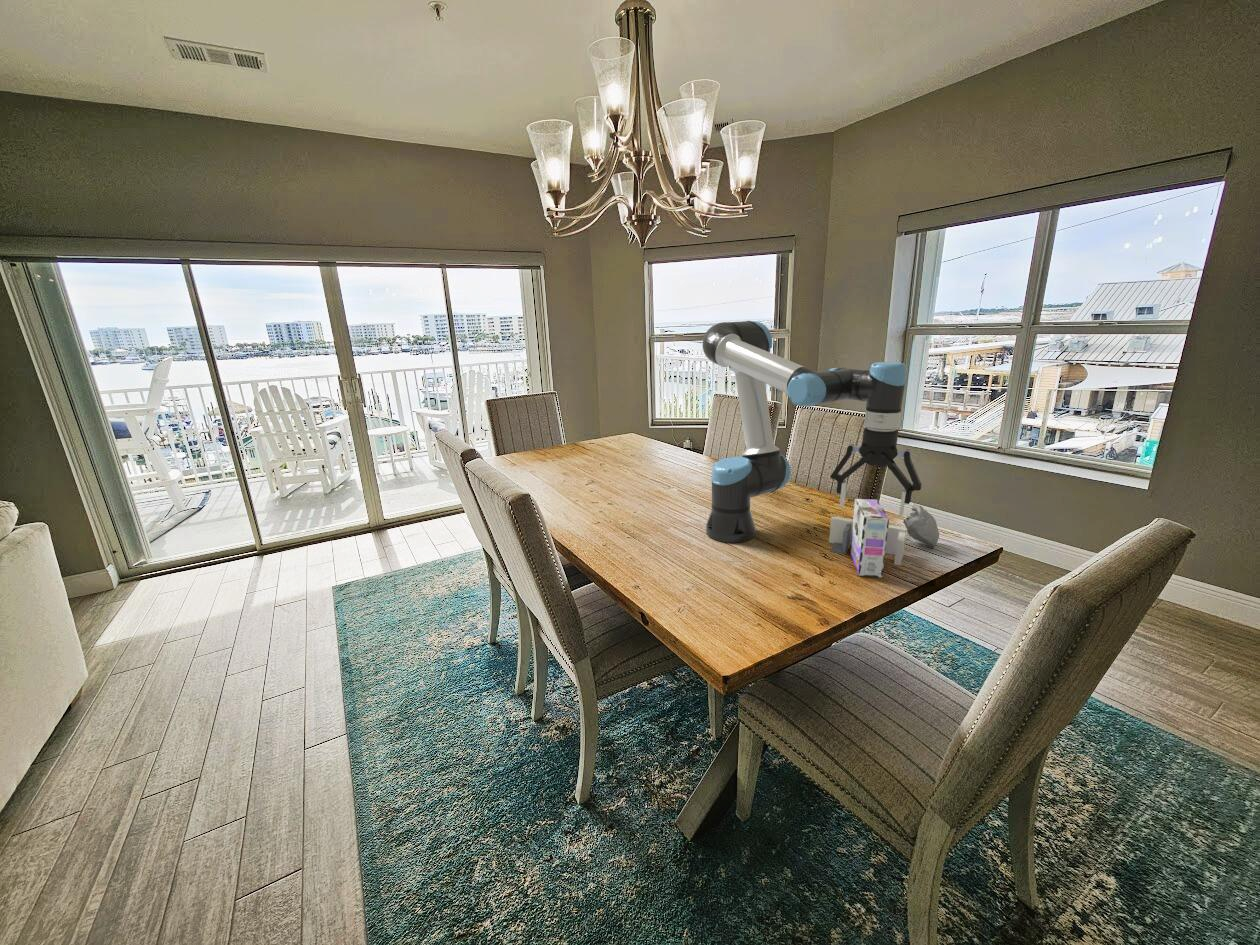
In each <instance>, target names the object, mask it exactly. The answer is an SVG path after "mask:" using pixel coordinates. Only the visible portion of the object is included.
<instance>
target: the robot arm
mask: <svg viewBox="0 0 1260 945" xmlns="http://www.w3.org/2000/svg"><path fill="white" fill-rule="evenodd" d="M772 336H773V335H772V333H771V331H770V329H769V328H768V327H767V326H766V325H765V324H763V323H762V322H760V321H752V320H746V321H745V320H744V321H728V322H727V321H726V322H719V323H716V324H713V325H712V326H711V327H710V328H708V329H707V331H706V332H705V334H704V335H703V339H702V351H703V353H704V356H705V357H706V358H707V359H708V360H709V361H710V362H712V363H713V364H716V365H718V366H720V367H723V368H728V367H729V370H730V371H731V372H733V374H735V376H734V377H735V381H736V389H737V395H738V403H739V409H740V417H741V423H742V424H741V425H742V430H743V431H742V432H743V437H744V444H745V449H744V451H743V452H742V453H741V456H733V457H726V458H724V457H723V459H722V458H721V459H719V460H717V461H716V462H715V463H714V464H713V466H712V470H711V471H712V472H711V477H710V479H711V510H710V513H709V516H708V519H707V521H706V525H705V534H706V535H707V536H708V537H709V538H710V539H712V540H714V541H715V540H716V541H718V542H723V543H730V544H731V543H734V544H735V543H745V542H747V541H750V540H752V539H753V538H754V537H755V536H756V525H755V522H754V519H753V516H752V512H751V499H752V498H755V497H758V496H762V495H765V494H766V495H767V494H769V493H774V492H776V491H778V490H781V489H782V488H784V487H785V486H786V485H787V483H788V482H789V480H790V476H791V466H790V462H789V460H788V459H787V458H786V457H785V455H783V454H782V453H781V450H780V448H779V447H778V446H777V445H776V444H774V438H773V429H772V423H771V417H770V410H769V402H768V396H767V389H766V388H767V387H766V385H768V386H770V387H773V388H775V389H777V390H778V391H781V392H783V393H785V394H787V396H788V398H789V400H790V401H791V402H792V404H794V405H796V406H799V407H813V406H817V405H820V404H821V405H822V404H826V403H833V402H840V401H843V400H844V401H846V400H848V401H849V400H850V401H852V400H853V401H861V402H866V405H865V416H864V423H863V424H864V426H865V427H864V428H863V432H862V440H861V445H860V446H857V445H855V444H854V443H849V445H848V446H847V448H846V452H845V454H844V456H843V457H842V459H841V460H840V462H839V463H838V464H837V466H836V467H835V469H834V470H833V471H832V473H831V474H830V476H829V477H830V479H832V480H835V481H836V482H837V484H836V485H837V486H836V494H839V495H840V496H839V497H840V498H839V508H844V506H845V503H846V502H845V501H846V495H847V494H846V492H847V484H848V480H846V479H847V478H848V477H850V476H851V475H852V474H853V473H855V472H856V471H857V470H859V468H861V467H862V466H863V465H864V464H867V465H868V466H870V467H871V466H877V467H881V468H883V467H887V468H888V469H889V470H890V471H891V472H892V474H893V475H894V477H895V478H896V479H897V481H898V482H899V483H900V484H901V485H902V487H903V488H902V492H901V499H900V506H899V510H898V511H899V512H898V517H900V518H902V517H903V516H904V511H905V504H906V505H909V504H910V503H911V500H912V493H913V492H915V491H921V489H922V483H921V480H920V478H919V476H918V472H917V471H916V468H915V466H914V463H913V461H912V458H911V456H912V455H911V454H912V451H911V449H908V448H907V449H905V450H898V448H897V447H898V446H897V445H898V437H899V430H898V429H899V428H900V422H901V416H902V405H903V399H904V392H905V387H906V384H907V381H906V380H907V379H906V378H907V366H906V364H904V363H903V362H899V361H898V362H897V361H896V362H895V361H892V362H891V361H876V362H874V363H872V364H871V366H870V369H859V368H858V369H856V368H848V367H834V368H833V367H832V368H830V369H828V370H827V371H816V370H813V369H810V368H808V367H805V366H803V365H801V364H798V363H796V362H794V361H792V360H789V359H786V358H783V356H782V357H781V356H779V355H777V354H775V353H772V352H771V351H772V347H773V337H772ZM857 452H859V454H860V456H861V457H860V459H859V460H858V461H856V462H855V463H854V464H853V465H852V466H850V467H849V468H848V469H846V470H845V471H844V472H842V473H841V475H840V472H841V470H842V469H843V468H844V467H845V465H846V464H847V462H848V461H849V459H850V458H851V456H852V455H855V454H856V453H857ZM897 456H899V458H900V459H901V460H903V462H904V465H905V468H906V470H907V473H908V475H909V477H910V480H911V481H912V483H913V484H912V483H911V481H910V480H909V479H908V478H907V476H906V475H905V474H904V473H903V472H902V470H901V468H899V466H898V465H897V463H896V462H895V460H894V459H895V458H896V457H897Z"/></svg>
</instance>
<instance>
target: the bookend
mask: <svg viewBox="0 0 1260 945" xmlns="http://www.w3.org/2000/svg"><path fill="white" fill-rule="evenodd" d="M850 533H851V524H848V523H847V525H846V527H845V529H844V531H843V542H842V543H837V542H834V544H833V543H832V546H831V548H830V550H829V552H831V553H833V554H839V555H846V554H847V552H848V550H849V548H850V546H849V544H850Z"/></svg>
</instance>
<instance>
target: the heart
mask: <svg viewBox="0 0 1260 945" xmlns="http://www.w3.org/2000/svg"><path fill="white" fill-rule="evenodd" d="M910 509H911V511H913V512H910V514H909V515H910V516H909V515H908V516H907V517H906V518H905V519H904V520H903V521H902V522H903V523H904V527H905V528H907V529H906V534H908V537H911V538H912V539H913V540H916V541H918V542H921V543H923V544H925V545H926V546H929V547H931V548H935V546H936V545H937V543H938V541H939V539H940V532H939V528H938V524H937V520H936V519H935V517H934V516H933V515H932V514H930V513H929V512H928V511H927V510H926V509H924V506H922V505H918V504H914V505H912V507H911V508H910Z"/></svg>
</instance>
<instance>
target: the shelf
mask: <svg viewBox="0 0 1260 945" xmlns="http://www.w3.org/2000/svg"><path fill="white" fill-rule="evenodd" d="M847 523H848V524H851V533H850V544H849V548H851V539H852V527H853V519H852V518H847V517H846V518H845V517H839V516H831V517H830V523H829V524H830V528H829V536H828V538H829V539H828V543H830V544H832V545H833V544H834V542H837V543H842V542H843V531H844V529H845V527H846V525H847ZM906 534H907V528H906V527H905V526H898V525H891V524H890V525H888V533H887V541H886V549H885V554H888V555H893V556H894V565H897V566H902V562H903V561H902V560H903V557H904V552H905V551H904V550H905V544H906V537H907V535H906Z"/></svg>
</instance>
